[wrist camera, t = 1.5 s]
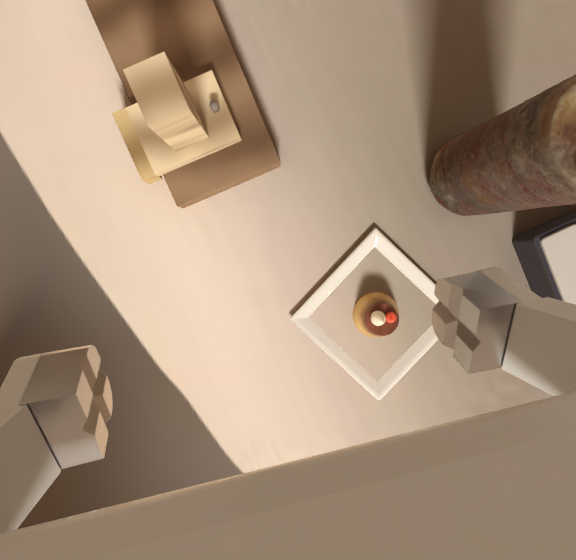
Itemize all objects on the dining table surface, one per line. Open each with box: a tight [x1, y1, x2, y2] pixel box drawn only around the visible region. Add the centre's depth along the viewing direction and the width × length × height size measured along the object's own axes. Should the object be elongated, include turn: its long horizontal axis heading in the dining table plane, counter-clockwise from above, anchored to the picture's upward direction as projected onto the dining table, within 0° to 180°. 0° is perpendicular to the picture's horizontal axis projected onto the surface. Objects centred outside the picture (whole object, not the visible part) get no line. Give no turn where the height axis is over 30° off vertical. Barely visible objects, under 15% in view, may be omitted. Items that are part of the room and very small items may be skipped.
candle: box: [430, 75, 576, 216], centre depth 31 cm, size 8×7×20 cm
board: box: [86, 0, 280, 208], centre depth 39 cm, size 22×10×2 cm, turn 23°
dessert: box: [290, 228, 439, 400], centre depth 40 cm, size 12×12×5 cm
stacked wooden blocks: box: [112, 52, 242, 184], centre depth 34 cm, size 6×9×10 cm, turn 113°
